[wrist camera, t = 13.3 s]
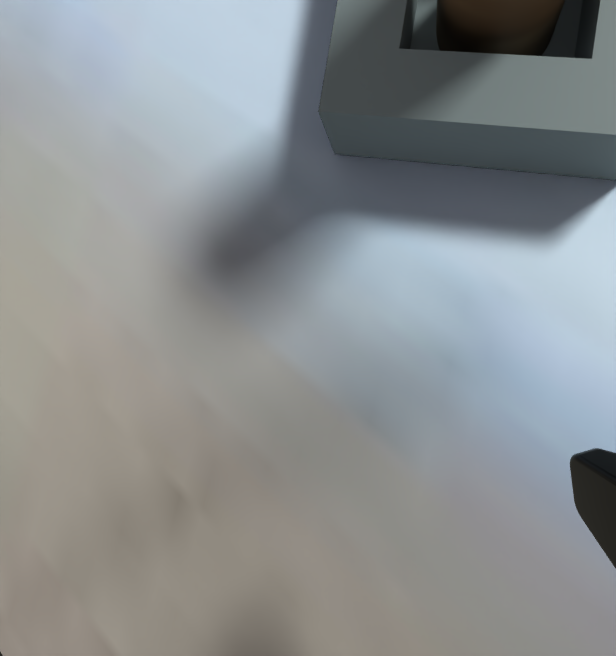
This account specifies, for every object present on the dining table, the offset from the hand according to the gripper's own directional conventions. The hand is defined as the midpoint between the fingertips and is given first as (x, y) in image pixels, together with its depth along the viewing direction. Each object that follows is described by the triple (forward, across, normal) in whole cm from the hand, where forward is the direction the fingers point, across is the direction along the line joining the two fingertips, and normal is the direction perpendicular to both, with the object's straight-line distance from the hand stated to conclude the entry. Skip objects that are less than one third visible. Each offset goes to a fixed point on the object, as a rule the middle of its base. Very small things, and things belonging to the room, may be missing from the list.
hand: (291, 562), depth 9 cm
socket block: (+15, -11, -8) cm, 20 cm away
